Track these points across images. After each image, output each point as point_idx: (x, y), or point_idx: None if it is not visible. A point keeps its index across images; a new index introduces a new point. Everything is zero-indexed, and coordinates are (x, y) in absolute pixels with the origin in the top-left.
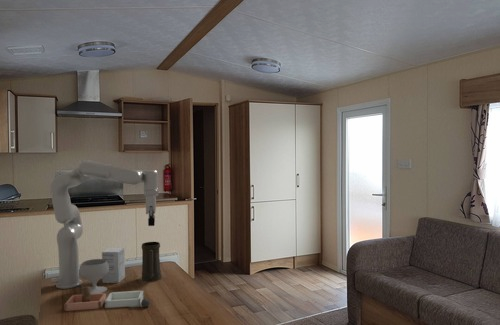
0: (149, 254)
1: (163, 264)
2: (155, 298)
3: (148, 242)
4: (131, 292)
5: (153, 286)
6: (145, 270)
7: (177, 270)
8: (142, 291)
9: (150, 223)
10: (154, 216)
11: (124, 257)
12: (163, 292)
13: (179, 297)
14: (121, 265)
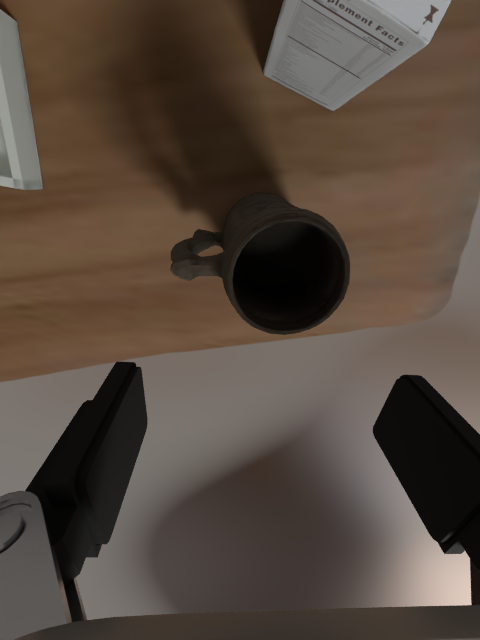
0: (187, 252)
1: (417, 292)
2: (34, 232)
3: (344, 268)
4: (5, 132)
5: (165, 235)
6: (232, 214)
7: (315, 328)
8: (10, 185)
9: (82, 415)
10: (430, 528)
11: (381, 76)
12: (93, 264)
13: (42, 305)
14: (319, 63)
